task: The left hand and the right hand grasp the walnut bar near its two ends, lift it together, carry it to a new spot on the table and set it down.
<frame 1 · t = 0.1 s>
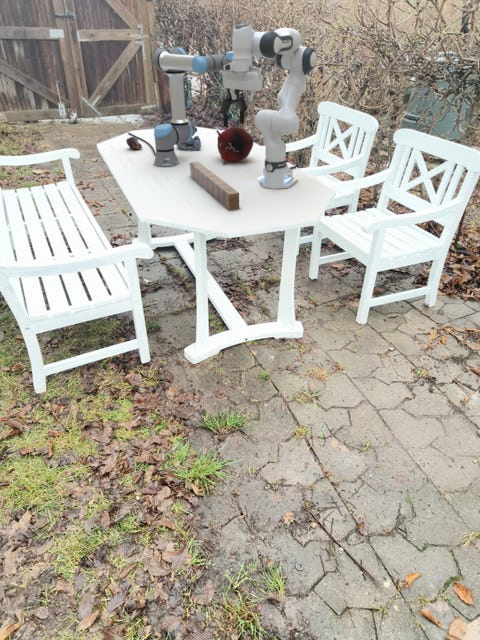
left hand: (234, 125, 259), 28 cm above the table, tool pointing down, fingers open, 13 cm apart
right hand: (242, 100, 209), 48 cm above the table, tool pointing down, fingers open, 8 cm apart
rock: (134, 149, 327), on the table
bar: (212, 191, 249), on the table
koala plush: (188, 148, 328), on the table
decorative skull: (234, 159, 301), on the table
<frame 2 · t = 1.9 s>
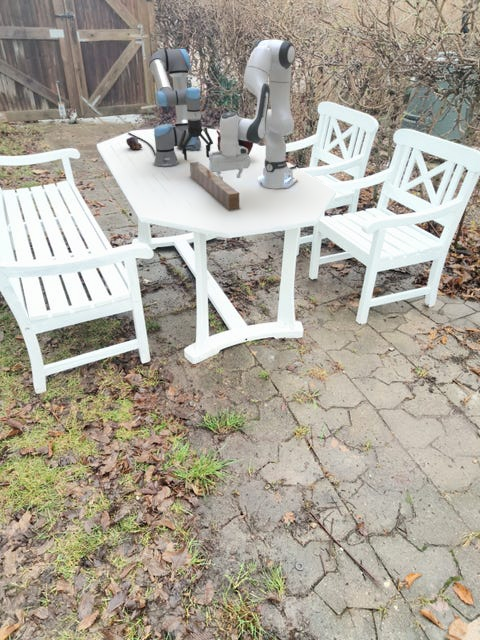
left hand: (196, 158, 261), 12 cm above the table, tool pointing down, fingers open, 13 cm apart
right hand: (229, 178, 221), 14 cm above the table, tool pointing down, fingers open, 8 cm apart
nothing on the table moved.
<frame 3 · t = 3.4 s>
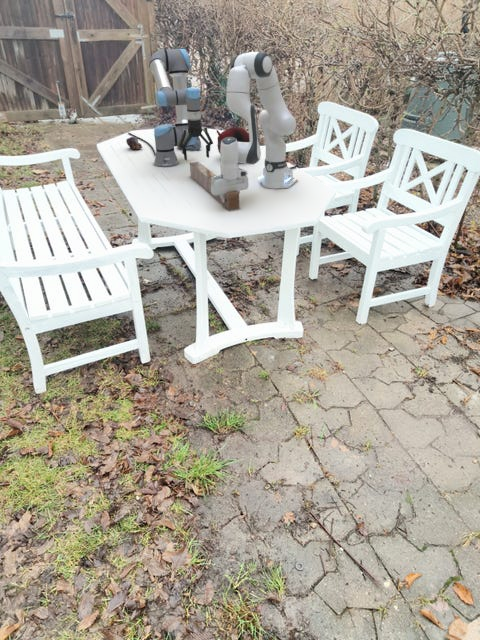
left hand: (196, 158, 261), 12 cm above the table, tool pointing down, fingers open, 13 cm apart
right hand: (230, 200, 228), 3 cm above the table, tool pointing down, fingers closed on bar, 6 cm apart
bar: (212, 191, 249), on the table, touching right hand
everything else where it was.
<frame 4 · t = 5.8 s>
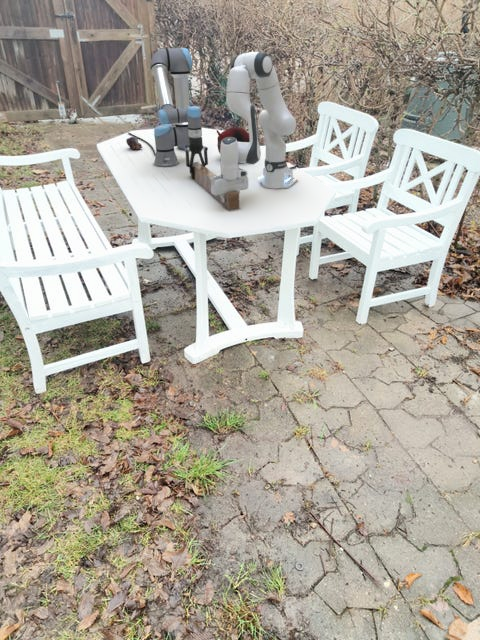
left hand: (197, 177, 267), 1 cm above the table, tool pointing down, fingers closed on bar, 5 cm apart
right hand: (230, 200, 228), 3 cm above the table, tool pointing down, fingers closed on bar, 6 cm apart
bar: (212, 191, 249), on the table, touching left hand, right hand
everything else where it was.
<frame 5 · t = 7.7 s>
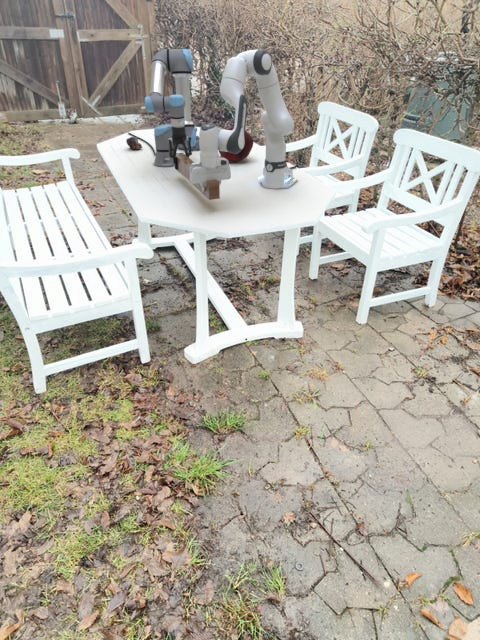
left hand: (181, 168, 261), 7 cm above the table, tool pointing down, fingers closed on bar, 5 cm apart
right hand: (210, 190, 220), 10 cm above the table, tool pointing down, fingers closed on bar, 5 cm apart
bar: (195, 181, 242), point 7 cm above the table, touching left hand, right hand
everything else where it was.
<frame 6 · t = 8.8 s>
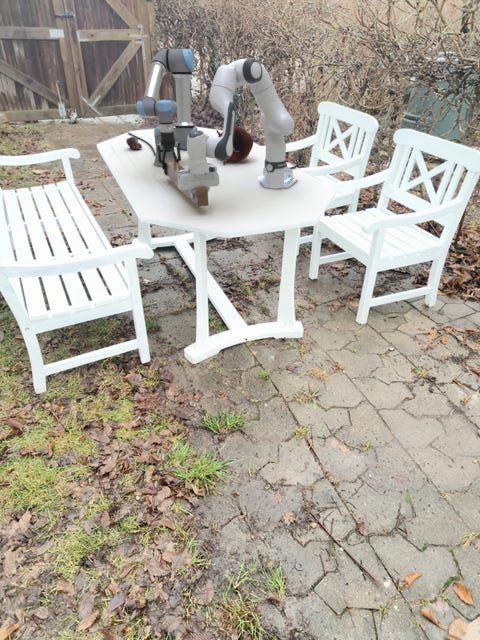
left hand: (170, 174, 260), 5 cm above the table, tool pointing down, fingers closed on bar, 5 cm apart
right hand: (199, 196, 220), 7 cm above the table, tool pointing down, fingers closed on bar, 5 cm apart
bar: (184, 187, 241), point 4 cm above the table, touching left hand, right hand
everything else where it was.
when the left hand's fingers open (1 cm above the table, at t = 9.5 s): bar stays where it is, on the table.
when the right hand's fingers open (4 cm above the table, at t = 9.7 s): bar stays where it is, on the table.
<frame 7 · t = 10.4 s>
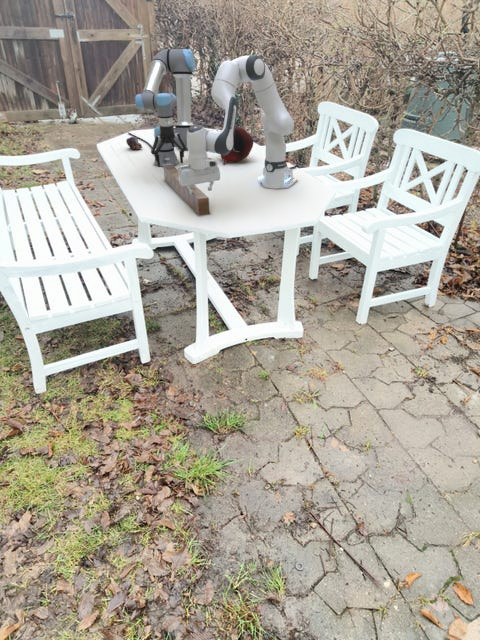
left hand: (170, 164, 257), 10 cm above the table, tool pointing down, fingers open, 13 cm apart
right hand: (200, 192, 218), 10 cm above the table, tool pointing down, fingers open, 8 cm apart
bar: (185, 195, 243), on the table
everything else where it was.
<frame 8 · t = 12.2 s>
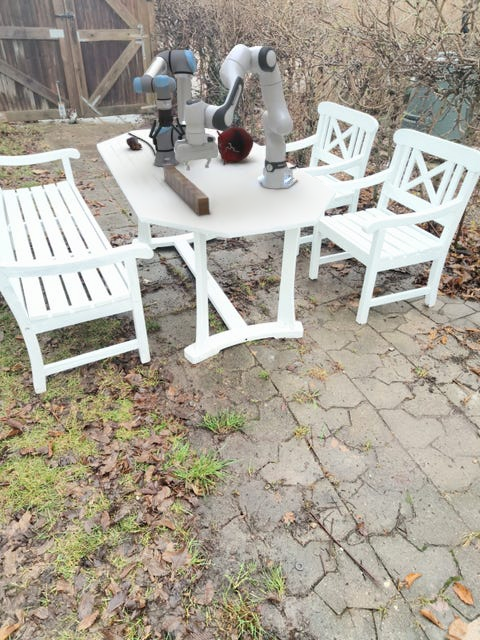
left hand: (168, 149, 252), 18 cm above the table, tool pointing down, fingers open, 13 cm apart
right hand: (197, 169, 212), 21 cm above the table, tool pointing down, fingers open, 8 cm apart
nothing on the table moved.
at the end: bar inside the target area (0.3 cm from its centre), on the table; bar tilted 0°; bar never tilted more than 1° during the clip; both hands held the bar at the same time; the left hand is holding nothing; the right hand is holding nothing; bar at rest at the end (0.0 cm/s) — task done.
